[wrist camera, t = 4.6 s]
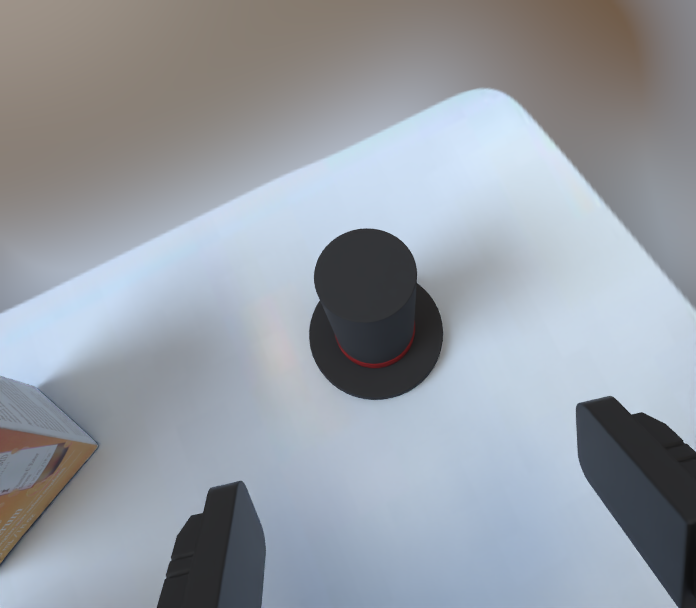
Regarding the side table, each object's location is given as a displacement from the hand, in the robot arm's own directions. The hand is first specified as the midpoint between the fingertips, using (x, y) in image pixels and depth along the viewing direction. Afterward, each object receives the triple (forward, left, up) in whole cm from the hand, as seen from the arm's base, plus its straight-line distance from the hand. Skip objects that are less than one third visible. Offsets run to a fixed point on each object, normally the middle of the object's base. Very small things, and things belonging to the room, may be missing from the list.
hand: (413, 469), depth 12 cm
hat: (0, -8, -13) cm, 15 cm away
